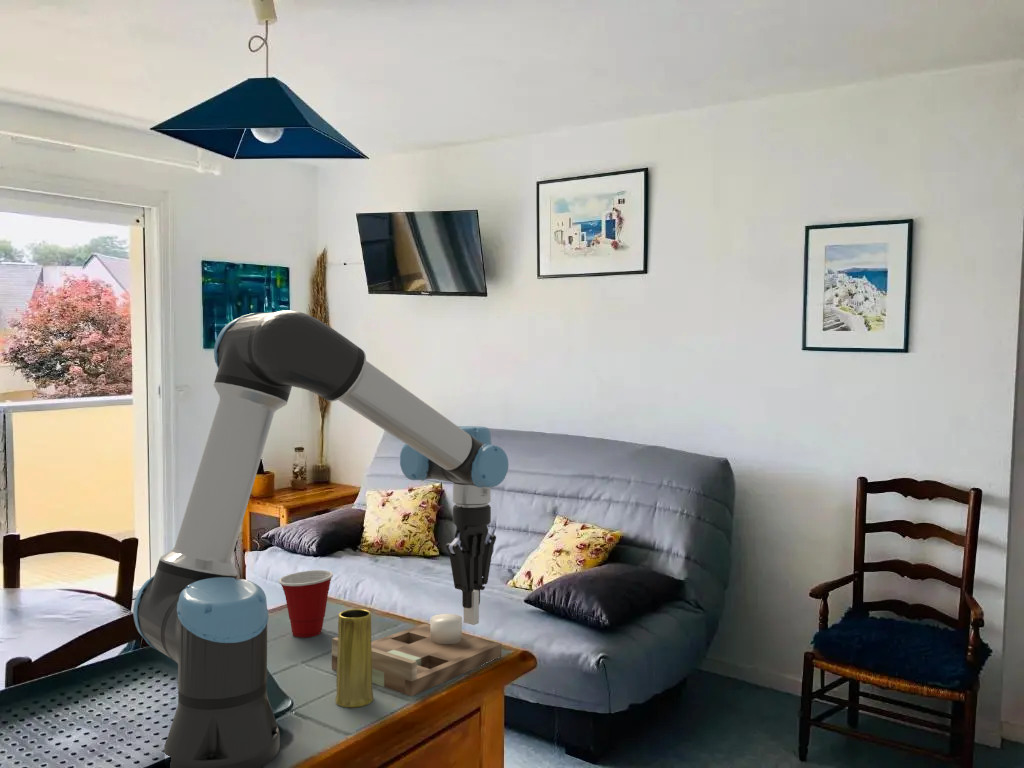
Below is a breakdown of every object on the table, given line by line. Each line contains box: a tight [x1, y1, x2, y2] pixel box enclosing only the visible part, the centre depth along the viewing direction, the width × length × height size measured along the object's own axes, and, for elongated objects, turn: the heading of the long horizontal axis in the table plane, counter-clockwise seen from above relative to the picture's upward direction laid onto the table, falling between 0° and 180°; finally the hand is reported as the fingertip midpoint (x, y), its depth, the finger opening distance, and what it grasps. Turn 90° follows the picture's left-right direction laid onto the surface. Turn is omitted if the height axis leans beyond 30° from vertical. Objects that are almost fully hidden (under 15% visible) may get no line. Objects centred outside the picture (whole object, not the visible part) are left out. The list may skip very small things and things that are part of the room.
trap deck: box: [331, 623, 503, 697], centre depth 150 cm, size 24×20×6 cm
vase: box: [334, 608, 375, 709], centre depth 132 cm, size 6×6×14 cm
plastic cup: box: [278, 569, 334, 639], centre depth 166 cm, size 11×11×12 cm
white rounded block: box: [429, 613, 463, 644], centre depth 156 cm, size 6×6×4 cm
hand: (471, 622), depth 162 cm, fingers closed
